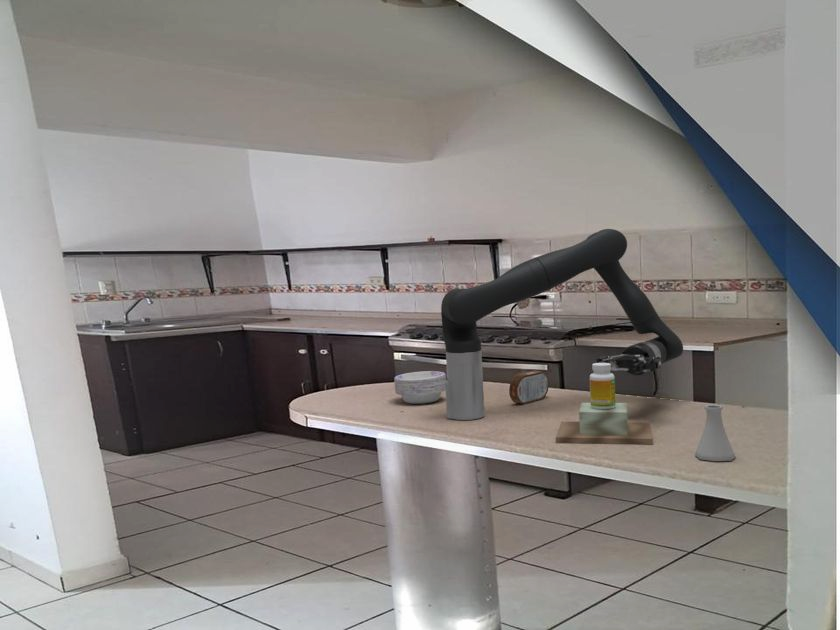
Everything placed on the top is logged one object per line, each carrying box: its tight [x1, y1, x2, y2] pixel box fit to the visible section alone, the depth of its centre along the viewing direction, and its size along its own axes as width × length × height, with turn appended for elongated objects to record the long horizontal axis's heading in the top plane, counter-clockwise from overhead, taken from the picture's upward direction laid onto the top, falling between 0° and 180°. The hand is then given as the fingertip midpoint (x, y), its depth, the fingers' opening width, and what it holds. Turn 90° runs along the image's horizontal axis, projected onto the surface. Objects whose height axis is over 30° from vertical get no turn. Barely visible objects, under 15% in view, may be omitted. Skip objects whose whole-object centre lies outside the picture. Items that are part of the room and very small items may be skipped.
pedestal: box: [555, 402, 654, 445], centre depth 156 cm, size 20×15×6 cm
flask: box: [694, 404, 736, 462], centre depth 135 cm, size 7×7×10 cm
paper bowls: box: [393, 370, 447, 405], centre depth 206 cm, size 15×15×8 cm
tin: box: [508, 369, 549, 405], centre depth 197 cm, size 15×3×8 cm, turn 133°
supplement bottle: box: [589, 362, 617, 409], centre depth 156 cm, size 5×5×10 cm
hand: (617, 367), depth 162 cm, fingers open, 8 cm apart
